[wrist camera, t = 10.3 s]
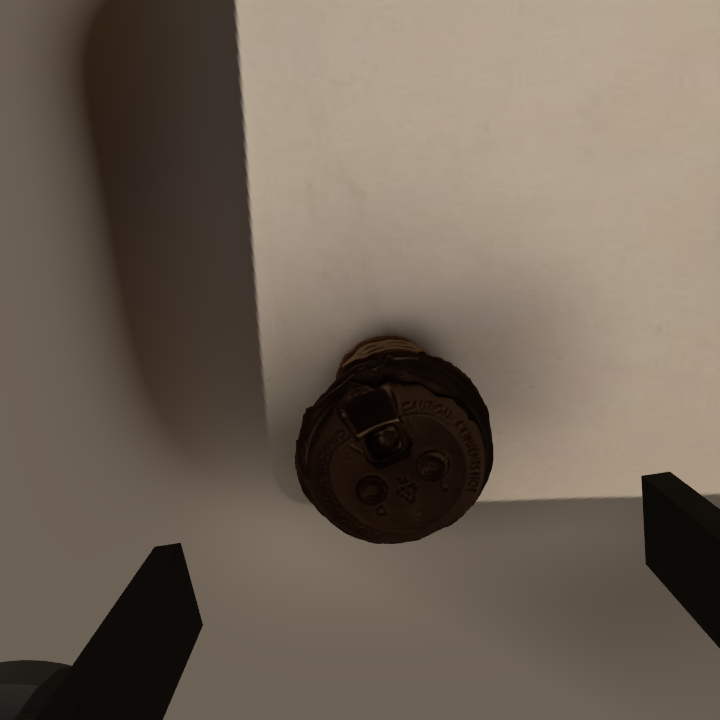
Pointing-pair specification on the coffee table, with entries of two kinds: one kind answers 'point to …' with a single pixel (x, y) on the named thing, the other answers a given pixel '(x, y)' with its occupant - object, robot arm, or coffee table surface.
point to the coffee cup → (395, 444)
